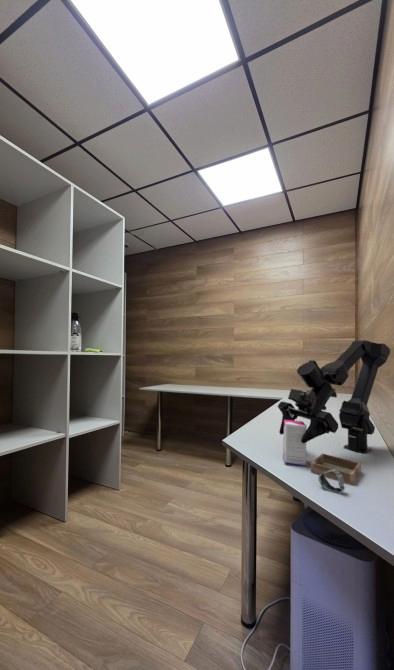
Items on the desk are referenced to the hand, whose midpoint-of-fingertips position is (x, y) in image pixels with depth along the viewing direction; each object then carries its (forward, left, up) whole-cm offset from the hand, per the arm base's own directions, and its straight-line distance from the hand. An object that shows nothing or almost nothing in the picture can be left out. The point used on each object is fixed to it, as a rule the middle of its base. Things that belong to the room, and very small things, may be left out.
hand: (290, 437), depth 78 cm
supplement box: (-1, 0, -7) cm, 7 cm away
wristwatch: (+6, +15, -7) cm, 17 cm away
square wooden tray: (-5, +11, -7) cm, 14 cm away
